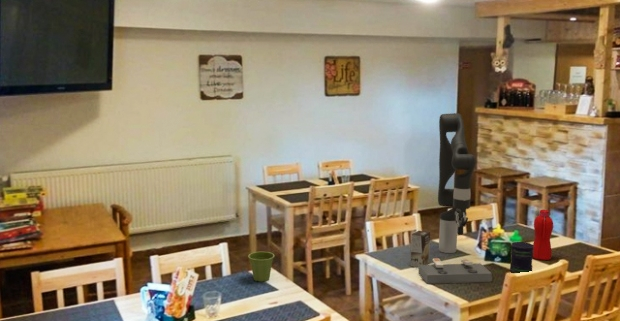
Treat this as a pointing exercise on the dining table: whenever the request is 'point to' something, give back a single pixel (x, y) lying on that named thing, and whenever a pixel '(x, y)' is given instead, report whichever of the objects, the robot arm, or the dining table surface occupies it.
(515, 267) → the storage jar
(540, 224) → the water bottle
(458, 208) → the robot arm
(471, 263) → the rocker on
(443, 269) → the switch panel
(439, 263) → the rocker off
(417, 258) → the coffee box
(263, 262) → the plant pot
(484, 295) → the dining table surface
